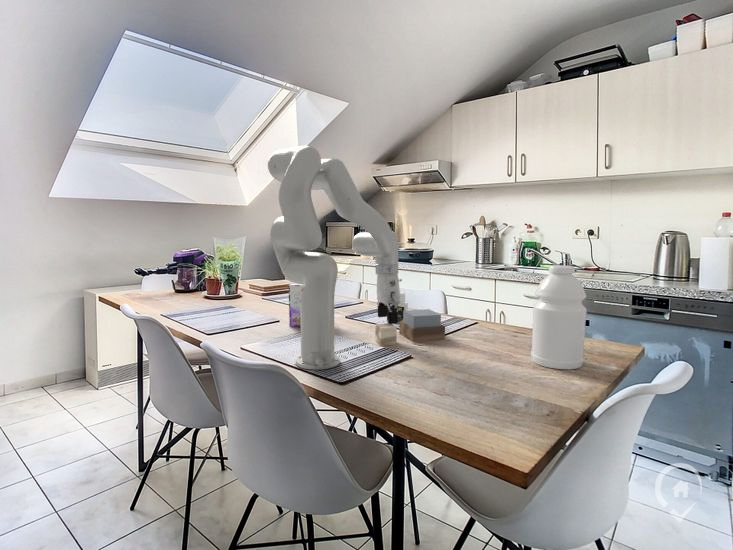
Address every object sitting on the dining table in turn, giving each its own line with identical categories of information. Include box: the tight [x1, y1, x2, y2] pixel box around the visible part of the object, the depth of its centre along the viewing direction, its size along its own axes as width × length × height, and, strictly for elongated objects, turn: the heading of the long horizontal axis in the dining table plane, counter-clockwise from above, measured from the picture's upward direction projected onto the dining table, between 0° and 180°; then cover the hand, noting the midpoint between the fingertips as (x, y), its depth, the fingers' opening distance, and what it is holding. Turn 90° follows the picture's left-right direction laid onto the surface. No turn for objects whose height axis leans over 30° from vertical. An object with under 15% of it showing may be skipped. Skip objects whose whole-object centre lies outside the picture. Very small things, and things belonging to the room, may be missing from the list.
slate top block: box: [403, 308, 442, 328], centre depth 156 cm, size 10×10×4 cm
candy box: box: [288, 282, 305, 328], centre depth 171 cm, size 14×6×16 cm, turn 84°
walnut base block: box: [398, 321, 446, 343], centre depth 156 cm, size 12×12×5 cm
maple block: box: [374, 322, 398, 347], centre depth 148 cm, size 6×6×6 cm
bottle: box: [530, 264, 588, 370], centre depth 127 cm, size 14×14×28 cm
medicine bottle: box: [386, 291, 409, 324], centre depth 180 cm, size 7×7×12 cm
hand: (387, 320), depth 148 cm, fingers open, 9 cm apart
